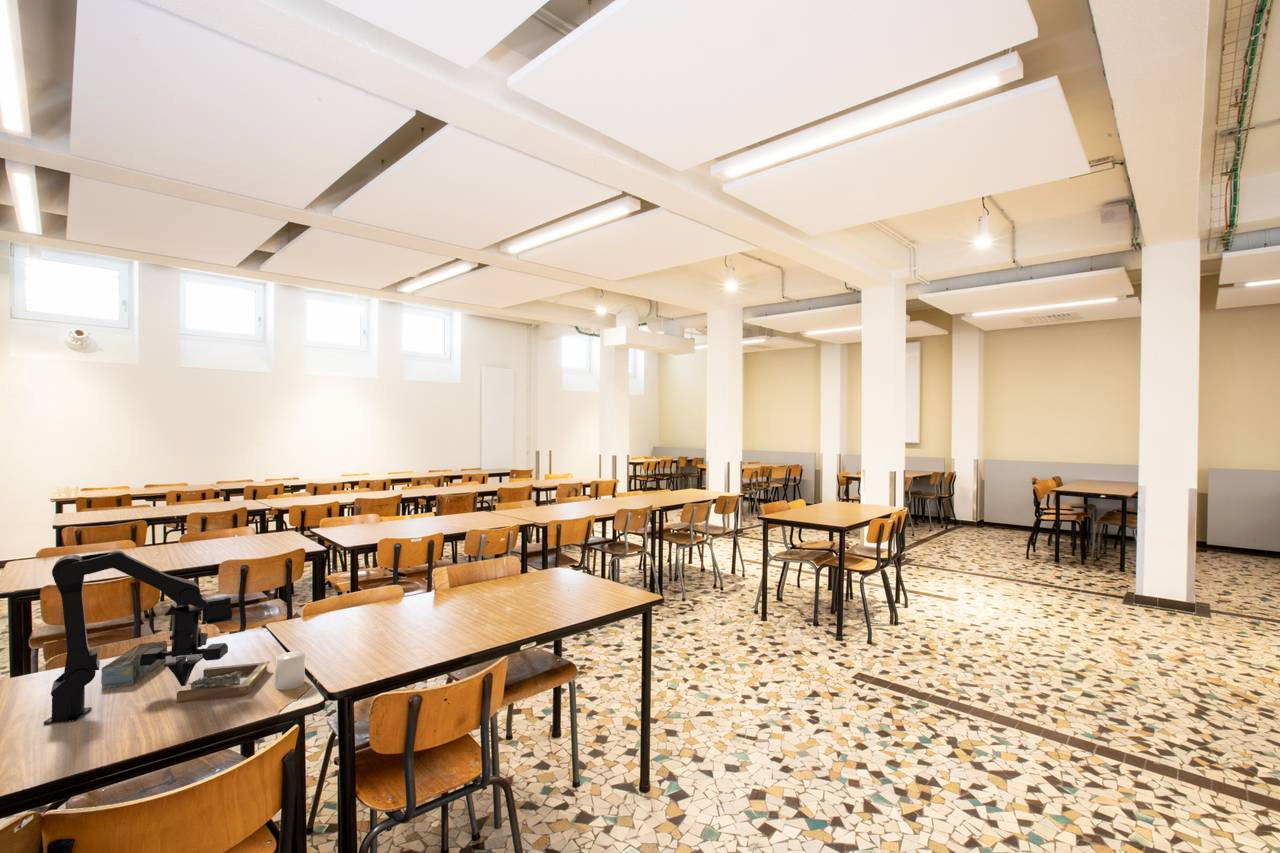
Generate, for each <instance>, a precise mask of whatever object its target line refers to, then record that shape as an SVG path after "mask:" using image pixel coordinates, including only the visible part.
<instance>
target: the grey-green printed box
mask: <svg viewBox="0 0 1280 853" xmlns="http://www.w3.org/2000/svg"><path fill="white" fill-rule="evenodd" d="M152 648H166V649H167V650H168V641H167V640H164V641H157V642H156V641H155V642H154V641H153V642H146V643H145V642H142V643H138V644H136V645H134V647H132V648H131V649H129V650H127V651H126V652H124V653H123V654H122V655H121V656H118V657H117V658H116V659H114V660H113V661H111V662H109V663H108V664H106V665H105V666H102V668H101V675H100V676H101V678H100V679H101V688H102V689H108V687H109V688H115V687H114V686H119V687H125V686H124V685H129V686H135V684H137V683H138V682H140V681H141V680H143V679H144V678H145V677H147V676H148V675H149V674H150V673H151V672H153V671H154V670H156V669H157V668H158V667H159V666H161V665H162V664H163V663H164V662H165V663H166V659H159V660H156V662H154V663H153V664H152V665H146V666H139V658H140V656H141V655H142V654H143V653H145V652H147V651H148V650H150V649H152Z"/></svg>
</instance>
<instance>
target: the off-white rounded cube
mask: <svg viewBox="0 0 1280 853" xmlns="http://www.w3.org/2000/svg"><path fill="white" fill-rule="evenodd" d="M305 660H306V654H305V652H304V651H299V650H296V651H290V652H284V653H282V654H279V655H277V656H276V657H275V674H274V676H275V678H274V679H275V682H274V685H275V686H274V688H275V690H278V691H287V690H288V691H289V690H294V689H297V688H299V687H301V686H303V685H304V684H305V668H306V667H305V665H306V664H305V662H306V661H305Z"/></svg>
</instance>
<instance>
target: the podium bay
mask: <svg viewBox="0 0 1280 853" xmlns="http://www.w3.org/2000/svg"><path fill="white" fill-rule="evenodd" d="M270 662H271V660H267V661H265V662H254V663H243V664H242V663H241V664H233V665H223V666H212V667H205V668H204V669H203V674H202V678H203V677H208V678H210V677H215V676H224V675H225V674H228V675H230V674H231V673H233V672H237V671H239V672H240V671H242V674H241V676H243V675H245V676H246V675H248V676H247V677H246V678H245V679H244V680H243V681H242V683H240V685H232V686H222V687H213V688H203V689H193V690H191V689H187V690H186V689H185V690H179V691H177V692H176V704H179V703H188V702H189V703H190V702H199V701H208V700H209V701H210V700H218V699H227V698H235V697H245V696H246V695H247V694H248V693H249V692H250V690H252V688H253V687H254V686H255V685H256V684H257V682H259V681H260V679H261V678H262V676H264V675H265V673H267V669H268V665H269V664H270Z"/></svg>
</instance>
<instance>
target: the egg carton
mask: <svg viewBox="0 0 1280 853" xmlns="http://www.w3.org/2000/svg"><path fill="white" fill-rule="evenodd" d="M241 674H242V671H240V672H239V671H237V672H233V673H231V674H230V675H228V674H225V675H224V676H215V677H210V678H208V677H203V676H202V678H201V677H199V678H198V679H195V680H193V681H192V682H189V683H188V682H187V685H190V690H193V689H203V688H213V687H222V686H232V685H241V678H240V677H241V676H242V675H241Z"/></svg>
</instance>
